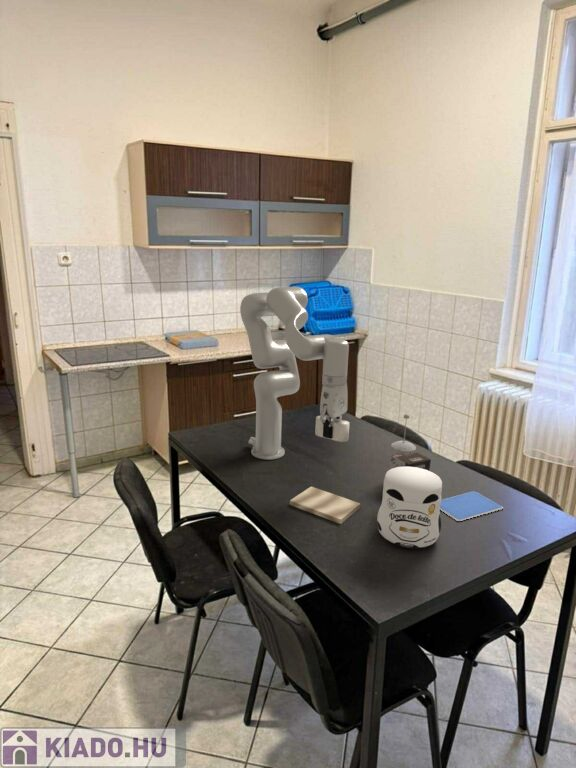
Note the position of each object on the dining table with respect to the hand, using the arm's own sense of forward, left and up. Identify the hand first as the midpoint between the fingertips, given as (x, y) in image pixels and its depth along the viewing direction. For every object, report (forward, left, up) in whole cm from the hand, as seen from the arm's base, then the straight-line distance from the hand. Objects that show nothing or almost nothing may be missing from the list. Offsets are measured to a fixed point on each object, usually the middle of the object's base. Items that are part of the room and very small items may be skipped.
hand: (331, 434), depth 170 cm
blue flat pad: (+39, +19, -21) cm, 48 cm away
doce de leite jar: (+31, -9, -20) cm, 38 cm away
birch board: (+4, -9, -20) cm, 22 cm away
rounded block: (0, 0, -1) cm, 1 cm away
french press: (+16, +21, -20) cm, 33 cm away
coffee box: (+24, +8, -20) cm, 32 cm away
